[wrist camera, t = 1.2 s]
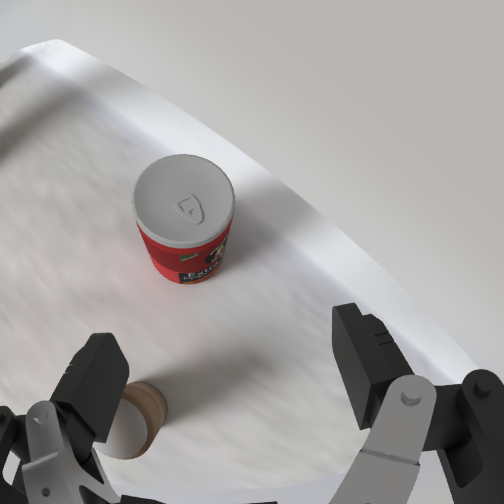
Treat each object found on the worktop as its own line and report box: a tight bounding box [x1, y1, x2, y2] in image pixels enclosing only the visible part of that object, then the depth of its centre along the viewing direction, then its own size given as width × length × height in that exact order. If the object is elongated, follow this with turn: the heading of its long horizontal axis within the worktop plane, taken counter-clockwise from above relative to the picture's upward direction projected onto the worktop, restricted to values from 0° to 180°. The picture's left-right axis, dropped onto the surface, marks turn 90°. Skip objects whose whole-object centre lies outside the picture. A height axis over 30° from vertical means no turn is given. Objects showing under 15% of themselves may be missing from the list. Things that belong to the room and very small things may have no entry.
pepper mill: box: [93, 382, 167, 460], centre depth 19 cm, size 5×5×10 cm
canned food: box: [132, 154, 235, 284], centre depth 25 cm, size 8×8×11 cm
